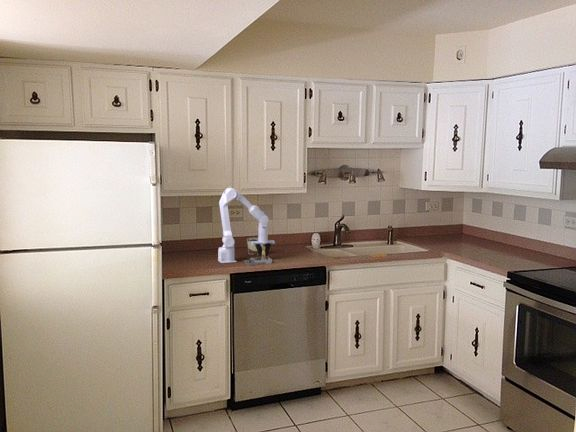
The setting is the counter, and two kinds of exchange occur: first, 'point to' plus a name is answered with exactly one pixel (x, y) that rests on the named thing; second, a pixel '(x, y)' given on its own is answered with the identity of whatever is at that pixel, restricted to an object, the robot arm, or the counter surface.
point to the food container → (252, 246)
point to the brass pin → (263, 251)
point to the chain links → (258, 261)
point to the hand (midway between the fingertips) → (263, 255)
